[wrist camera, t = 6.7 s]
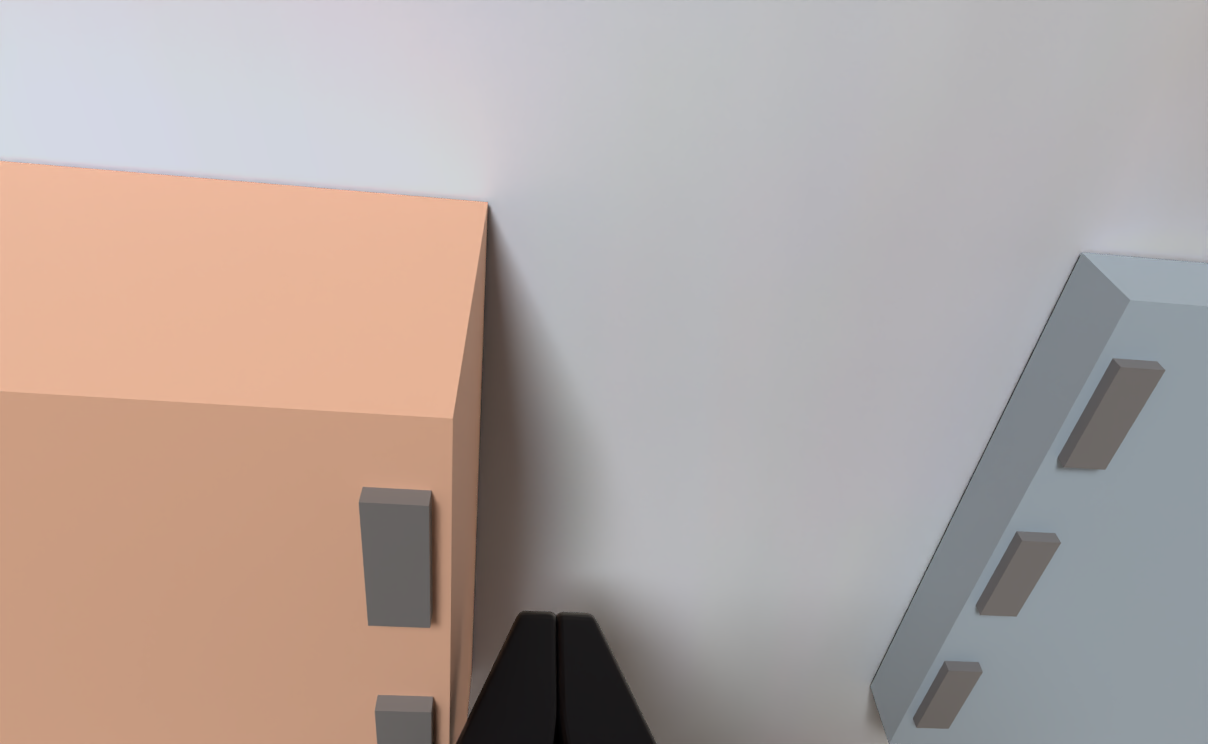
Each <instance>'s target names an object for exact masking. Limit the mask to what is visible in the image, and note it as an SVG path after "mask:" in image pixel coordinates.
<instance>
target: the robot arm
mask: <svg viewBox="0 0 1208 744" xmlns="http://www.w3.org/2000/svg"><path fill="white" fill-rule="evenodd" d="M456 744H656V742H655V740H654V737H653V735H652V733H651V731H650V729H649V727H648V725H647V723H646V721H645V719H644V717H643V715H642V713H641V711H640V709H639V707H638V705H637V702H636V700H635V698H634V696H633V694H632V692H631V690H630V688H629V686H628V684H627V682H626V680H625V678H624V676H623V674H622V672H621V670H620V667H619V665H618V663H617V661H616V659H615V657H614V655H613V653H612V651H611V649H610V647H609V645H608V643H607V641H606V639H605V637H604V635H603V632H602V630H601V628H600V626H599V624H598V622H597V620H596V619H595V618H594V616H593V615H591V614H589V613H571V612H561V613H559V614H557V615H555V614H554V613H552V612H546V611H522V612H520V613H519V615H518V616H517V617H516V619H515V621H514V623H513V625H512V628H511V630H510V632H509V634H508V636H507V638H506V640H505V642H504V644H503V646H502V648H501V650H500V652H499V655H498V657H497V659H496V661H495V663H494V665H493V667H492V669H491V671H490V673H489V675H488V677H487V680H486V682H485V684H484V686H483V688H482V690H481V692H480V694H479V696H478V698H477V700H476V702H475V705H474V707H473V709H472V711H471V713H470V715H469V717H468V719H467V721H466V723H465V725H464V727H463V730H462V732H461V734H460V736H459V738H458V740H457V742H456Z"/></svg>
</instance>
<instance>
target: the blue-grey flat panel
mask: <svg viewBox="0 0 1208 744" xmlns="http://www.w3.org/2000/svg"><path fill="white" fill-rule="evenodd" d="M870 687H871V690H872V693H873V696H874V699H875V702H876V706H877V709H878V712H879V715H880V718H881V721H882V724H883V727H884V730H885V733H886V736H887V739H888V742H889V744H1208V263H1200V262H1188V261H1176V260H1164V259H1153V258H1141V257H1129V256H1117V255H1105V254H1093V253H1081V255H1080V257H1079V259H1078V261H1077V263H1076V266H1075V268H1074V270H1073V272H1072V274H1071V276H1070V278H1069V280H1068V282H1067V284H1066V286H1065V288H1064V290H1063V292H1062V294H1061V296H1060V298H1059V300H1058V302H1057V305H1056V307H1055V309H1054V311H1053V313H1052V315H1051V317H1050V319H1049V321H1048V323H1047V325H1046V327H1045V329H1044V331H1043V333H1042V335H1041V337H1040V339H1039V341H1038V343H1037V346H1036V348H1035V350H1034V352H1033V354H1032V356H1031V358H1030V360H1029V362H1028V364H1027V366H1026V368H1025V370H1024V372H1023V374H1022V376H1021V378H1020V380H1019V382H1018V385H1017V387H1016V389H1015V391H1014V393H1013V395H1012V397H1011V399H1010V401H1009V403H1008V405H1007V407H1006V409H1005V411H1004V413H1003V415H1002V417H1001V419H1000V421H999V424H998V426H997V428H996V430H995V432H994V434H993V436H992V438H991V440H990V442H989V444H988V446H987V448H986V450H985V452H984V454H983V456H982V458H981V460H980V462H979V465H978V467H977V469H976V471H975V473H974V475H973V477H972V479H971V481H970V483H969V485H968V487H967V489H966V491H965V493H964V495H963V497H962V499H961V501H960V504H959V506H958V508H957V510H956V512H955V514H954V516H953V518H952V520H951V522H950V524H949V526H948V528H947V530H946V532H945V534H944V536H943V538H942V540H941V543H940V545H939V547H938V549H937V551H936V553H935V555H934V557H933V559H932V561H931V563H930V565H929V567H928V569H927V571H926V573H925V575H924V577H923V579H922V582H921V584H920V586H919V588H918V590H917V592H916V594H915V596H914V598H913V600H912V602H911V604H910V606H909V608H908V610H907V612H906V614H905V616H904V618H903V620H902V623H901V625H900V627H899V629H898V631H897V633H896V635H895V637H894V639H893V641H892V643H891V645H890V647H889V649H888V651H887V653H886V655H885V657H884V659H883V662H882V664H881V666H880V668H879V670H878V672H877V674H876V676H875V678H874V680H873V682H872V684H871V686H870Z"/></svg>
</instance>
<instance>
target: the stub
mask: <svg viewBox="0 0 1208 744" xmlns="http://www.w3.org/2000/svg"><path fill="white" fill-rule="evenodd" d="M487 211H488V202H479V201H467V200H455V199H443V198H431V197H420V196H408V195H396V194H384V193H372V192H360V191H349V190H337V189H325V188H313V187H301V186H290V185H278V184H266V183H254V182H242V181H230V180H219V179H207V178H195V177H183V176H171V175H159V174H148V173H136V172H124V171H112V170H100V169H89V168H77V167H65V166H53V165H41V164H29V163H18V162H6V161H0V744H456V742H457V740H458V738H459V736H460V734H461V732H462V730H463V727H464V725H465V723H466V721H467V715H468V704H469V694H470V684H471V674H472V645H473V616H474V587H475V558H476V529H477V500H478V471H479V442H480V413H481V385H482V356H483V327H484V298H485V269H486V240H487Z"/></svg>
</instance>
